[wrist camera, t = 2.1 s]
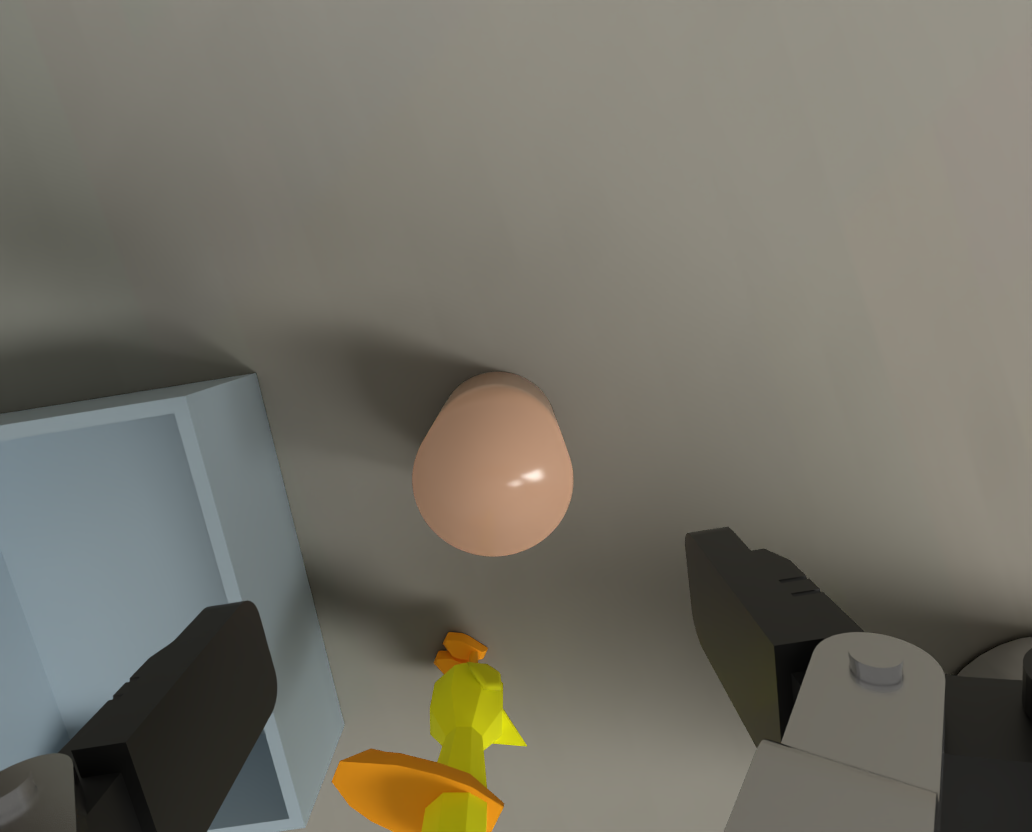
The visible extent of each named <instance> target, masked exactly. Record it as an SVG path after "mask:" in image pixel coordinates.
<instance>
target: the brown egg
mask: <svg viewBox="0 0 1032 832" xmlns="http://www.w3.org/2000/svg"><path fill="white" fill-rule="evenodd" d="M412 485H413V492H414V497H415V500H416V504H417V506H418V508H419V511H420V513H421V515H422V516H423V518H424V520H425V521H426V523H427V524H428V525H429V527H430V528H431V529H432V530H433V531H434V532H435V533H436V534H437V535H438V536H439V537H440V538H442V539H443V540H444V541H446V542H447V543H449V544H450V545H452V546H454V547H455V548H458V549H460V550H462V551H465V552H468V553H471V554H475V555H481V556H506V555H511V554H516V553H519V552H521V551H524V550H527V549H529V548H531V547H533V546H535V545H536V544H538V543H539V542H541V541H542V540H544V539H545V538H546V537H547V536H548V535H549V534H551V533H552V531H553V530H554V529H555V528H556V527H557V526H558V524H559V523H560V521H561V520H562V518H563V517H564V515H565V513H566V511H567V509H568V506H569V503H570V500H571V496H572V491H573V469H572V464H571V459H570V457H569V454H568V451H567V448H566V445H565V442H564V439H563V437H562V434H561V431H560V428H559V425H558V422H557V419H556V417H555V414H554V411H553V408H552V406H551V404H550V402H549V400H548V399H547V397H546V396H545V394H544V393H543V392H542V391H541V390H540V389H539V388H538V387H537V386H536V385H535V384H533V383H532V382H531V381H529V380H527V379H526V378H523V377H521V376H519V375H516V374H513V373H508V372H487V373H483V374H479V375H476V376H474V377H472V378H470V379H468V380H466V381H465V382H463V383H462V384H460V385H459V386H458V387H457V388H456V389H455V390H454V391H453V392H452V393H451V395H450V396H449V398H448V399H447V401H446V402H445V404H444V406H443V408H442V409H441V411H440V413H439V414H438V416H437V418H436V420H435V421H434V423H433V425H432V426H431V428H430V430H429V431H428V433H427V435H426V437H425V438H424V440H423V442H422V443H421V445H420V448H419V450H418V452H417V455H416V458H415V462H414V466H413V473H412Z"/></svg>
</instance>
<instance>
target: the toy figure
mask: <svg viewBox="0 0 1032 832" xmlns="http://www.w3.org/2000/svg"><path fill="white" fill-rule="evenodd" d="M443 645H444V646H445V647H446V649H447V650H448V651H439V652H438V653H437V655H436V658H435V661H434V664H435V665H436V666H437V667H438V668H439V669H440V671H441V672H442V673H443V674H444V675H443V676H442V677H441V678H440V679H439V680H438V681H436V682H435V685H434V690H433V695H432V700H431V705H430V734H431V735H432V736H433V737H434V738H435V739H436V740H437V741H438V742H439V743H440V744H441V745H442V749H441V752H440V755H439V758H438V761H437V762H433V761H429V760H425V759H421V758H417V757H413V756H409V755H405V754H401V753H393V752H384V751H380V750H375V749H369V750H366V751H364V752H361V753H359V754H356V755H354V756H351V757H349V758H346V759H344V760H341V761H340V762H339V764H338V767H337V769H336V772H335V774H334V777H333V780H332V783H333V784H334V785H335V787H336V788H337V789H338V791H339V792H340V793H341V795H342V796H343V797H344V799H345V800H346V802H347V803H348V804H349V806H351V807H352V808H353V809H355V810H356V811H358V812H359V813H360V814H362V815H363V816H365V817H366V818H367V819H369V820H370V821H372V822H374V823H376V824H378V825H380V826H382V827H385V828H387V829H389V830H391V831H393V832H491V831H492V829H493V827H494V825H495V823H496V821H497V819H498V817H499V815H500V813H501V811H502V809H503V807H504V803H503V802H502V801H501V800H500V799H499V798H497V797H496V796H495V795H494V794H493V793H492V792H490V791H489V790H488V789H487V784H486V772H485V761H484V750H485V749H486V748H487V747H488V746H490V745H491V744H505V745H517V746H527V745H526V744H525V742H524V740H523V739H522V737H521V736H520V734H519V733H518V731H517V729H516V728H515V726H514V725H513V723H512V722H511V720H510V718H509V717H508V715H507V714H506V712H505V711H504V709H503V683H502V682H501V674H500V673H499V672H498V671H497V670H495V669H494V668H492V667H491V666H489V665H488V664H481V663H478V660H480V659H483V658H484V656H485V654H486V652H487V649H488V648H487V647H486V646H484V645H483V644H481V643H480V642H478V641H476V640H475V639H473V638H472V637H470V636H468V635H466V634H463V633H456V632H448V634H447V636H446V638H445V640H444V642H443Z"/></svg>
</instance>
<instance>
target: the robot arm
mask: <svg viewBox="0 0 1032 832" xmlns="http://www.w3.org/2000/svg"><path fill="white" fill-rule="evenodd" d="M685 550H686V559H687V568H688V578H689V587H690V597H691V606H692V614H693V620H694V625H695V629H696V632H697V635H698V638H699V641H700V644H701V646H702V648H703V650H704V652H705V654H706V656H707V657H708V659H709V661H710V663H711V665H712V667H713V668H714V670H715V672H716V674H717V676H718V678H719V679H720V681H721V683H722V685H723V687H724V689H725V690H726V692H727V694H728V696H729V698H730V700H731V701H732V703H733V705H734V707H735V709H736V711H737V712H738V714H739V716H740V718H741V720H742V722H743V723H744V725H745V727H746V729H747V731H748V733H749V734H750V736H751V738H752V740H753V742H754V744H755V745H756V747H757V750H756V752H755V754H754V757H753V759H752V762H751V764H750V767H749V769H748V772H747V774H746V777H745V779H744V782H743V784H742V787H741V789H740V792H739V794H738V797H737V800H736V802H735V805H734V807H733V810H732V812H731V815H730V817H729V820H728V822H727V825H726V827H725V830H724V832H1032V637H1027V638H1020V639H1017V640H1014V641H1011V642H1008V643H1005V644H1002V645H999V646H997V647H995V648H993V649H991V650H990V651H988V652H986V653H984V654H982V655H980V656H979V657H977V658H976V659H975V660H974V661H972V662H971V663H970V664H968V665H967V666H966V667H965V668H963V669H962V670H961V671H960V673H959V674H958V675H957V676H954V675H948V674H944V672H943V669H942V667H941V666H940V665H939V663H938V662H937V661H936V660H935V659H934V658H933V657H932V656H931V655H929V654H928V653H927V652H925V651H924V650H922V649H921V648H919V647H917V646H915V645H913V644H911V643H908V642H906V641H904V640H901V639H898V638H895V637H891V636H887V635H883V634H876V633H867V632H864V631H863V630H862V629H861V628H860V627H859V626H858V625H857V624H856V623H855V622H854V621H852V620H851V619H850V618H849V617H848V616H847V615H846V614H845V613H844V612H843V611H842V610H841V609H840V608H839V607H838V606H837V605H836V604H835V603H834V602H833V601H832V600H831V599H830V598H829V597H828V596H826V595H825V594H824V593H823V592H822V593H821V592H820V589H819V588H818V587H817V586H816V585H815V584H814V583H813V582H812V581H811V580H810V579H807V578H806V575H805V574H804V573H803V572H802V571H800V570H799V569H798V568H797V567H796V566H795V565H794V564H793V563H792V562H791V561H790V560H788V559H786V558H784V557H782V556H779V555H777V554H775V553H773V552H770V551H768V550H766V549H760V550H753V551H751V550H750V549H749V548H748V547H747V546H746V545H745V544H744V543H743V542H742V541H741V539H740V538H739V537H738V536H737V535H736V534H735V533H734V532H733V531H732V530H731V529H730V528H729V527H723V528H717V529H710V530H704V531H698V532H691V533H687V534H686V537H685ZM276 698H277V676H276V672H275V668H274V665H273V661H272V658H271V654H270V650H269V647H268V643H267V640H266V636H265V632H264V629H263V625H262V621H261V618H260V614H259V611H258V609H257V607H256V605H255V604H254V603H253V602H251V601H248V600H247V601H241V602H234V603H228V604H221V605H215V606H209V607H206V608H204V609H203V610H202V611H201V612H200V613H199V614H198V615H197V617H196V618H195V619H194V620H193V621H192V622H191V623H190V624H189V625H188V626H187V627H186V628H185V629H184V630H183V631H182V633H181V634H180V635H179V636H178V637H177V638H176V639H175V640H174V641H173V642H171V643H170V644H169V645H167V646H166V647H164V648H163V649H161V650H160V651H158V652H157V653H155V654H154V655H153V656H151V657H150V658H149V659H148V660H147V661H146V662H145V663H144V664H143V665H142V666H141V667H140V668H139V669H138V670H137V671H136V672H135V673H134V674H133V675H132V676H131V677H130V681H129V682H125V684H124V685H123V686H122V687H121V688H120V689H119V690H118V691H117V692H116V693H115V694H114V695H113V699H112V700H108V701H107V702H106V703H105V704H104V705H103V706H102V707H101V708H100V710H99V711H98V712H97V713H96V714H95V715H94V716H93V717H92V718H91V719H90V720H89V721H88V722H87V723H86V724H85V725H84V726H83V727H82V728H81V729H80V730H79V731H78V732H77V733H76V735H75V736H74V737H73V738H72V739H71V740H70V741H69V742H68V743H67V744H66V745H65V746H64V747H63V748H62V749H61V750H60V751H59V752H58V753H52V754H45V755H40V756H36V757H33V758H30V759H27V760H24V761H21V762H19V763H17V764H14V765H12V766H10V767H8V768H6V769H4V770H2V771H0V832H207V831H208V829H209V827H210V825H211V823H212V822H213V820H214V818H215V816H216V814H217V813H218V811H219V809H220V807H221V805H222V803H223V802H224V800H225V798H226V796H227V794H228V792H229V791H230V789H231V787H232V785H233V783H234V782H235V780H236V778H237V776H238V774H239V772H240V771H241V769H242V767H243V765H244V763H245V761H246V760H247V758H248V756H249V754H250V752H251V751H252V749H253V747H254V745H255V743H256V741H257V740H258V738H259V736H260V734H261V732H262V730H263V729H264V727H265V725H266V723H267V721H268V719H269V718H270V716H271V714H272V712H273V710H274V707H275V703H276Z"/></svg>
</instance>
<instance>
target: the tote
mask: <svg viewBox="0 0 1032 832" xmlns="http://www.w3.org/2000/svg"><path fill="white" fill-rule="evenodd" d="M247 600H248V601H251V602H253V603H254V604H255V605H256V607H257V609H258V611H259V614H260V618H261V621H262V625H263V629H264V632H265V636H266V640H267V643H268V647H269V650H270V654H271V658H272V661H273V665H274V668H275V672H276V676H277V698H276V703H275V707H274V710H273V712H272V714H271V716H270V718H269V719H268V721H267V723H266V725H265V727H264V729H263V730H262V732H261V734H260V736H259V738H258V740H257V741H256V743H255V745H254V747H253V749H252V751H251V752H250V754H249V756H248V758H247V760H246V761H245V763H244V765H243V767H242V769H241V771H240V772H239V774H238V776H237V778H236V780H235V782H234V783H233V785H232V787H231V789H230V791H229V792H228V794H227V796H226V798H225V800H224V802H223V803H222V805H221V807H220V809H219V811H218V813H217V814H216V816H215V818H214V820H213V822H212V823H211V825H210V827H209V829H208V831H207V832H278V831H285V830H293V829H300V828H305V827H306V824H307V822H308V819H309V817H310V814H311V811H312V809H313V806H314V804H315V801H316V798H317V796H318V793H319V791H320V788H321V785H322V783H323V780H324V777H325V775H326V772H327V770H328V767H329V764H330V762H331V759H332V757H333V754H334V751H335V749H336V746H337V744H338V741H339V738H340V736H341V733H342V730H343V728H344V721H343V717H342V713H341V709H340V705H339V701H338V697H337V693H336V689H335V685H334V681H333V677H332V673H331V669H330V665H329V661H328V657H327V653H326V649H325V646H324V642H323V638H322V634H321V630H320V626H319V622H318V618H317V614H316V610H315V606H314V602H313V598H312V594H311V590H310V586H309V582H308V578H307V574H306V570H305V566H304V562H303V558H302V554H301V550H300V546H299V542H298V538H297V534H296V530H295V526H294V522H293V518H292V514H291V510H290V506H289V502H288V498H287V494H286V490H285V486H284V482H283V478H282V474H281V470H280V466H279V462H278V458H277V454H276V450H275V446H274V442H273V438H272V434H271V430H270V426H269V422H268V418H267V414H266V410H265V406H264V402H263V398H262V395H261V391H260V387H259V383H258V379H257V375H256V373H252V374H246V375H240V376H233V377H227V378H221V379H215V380H208V381H202V382H196V383H190V384H183V385H177V386H171V387H165V388H159V389H152V390H146V391H140V392H134V393H127V394H121V395H115V396H109V397H102V398H96V399H90V400H84V401H78V402H71V403H65V404H59V405H53V406H46V407H40V408H34V409H28V410H21V411H15V412H9V413H3V414H0V771H2V770H4V769H6V768H8V767H10V766H12V765H14V764H17V763H19V762H21V761H24V760H27V759H30V758H33V757H36V756H40V755H45V754H52V753H58V752H59V751H60V750H61V749H62V748H63V747H64V746H65V745H66V744H67V743H68V742H69V741H70V740H71V739H72V738H73V737H74V736H75V735H76V733H77V732H78V731H79V730H80V729H81V728H82V727H83V726H84V725H85V724H86V723H87V722H88V721H89V720H90V719H91V718H92V717H93V716H94V715H95V714H96V713H97V712H98V711H99V710H100V708H101V707H102V706H103V705H104V704H105V703H106V702H107V701H108V700H112V699H113V695H114V694H115V693H116V692H117V691H118V690H119V689H120V688H121V687H122V686H123V685H124V684H125V682H129V681H130V677H131V676H132V675H133V674H134V673H135V672H136V671H137V670H138V669H139V668H140V667H141V666H142V665H143V664H144V663H145V662H146V661H147V660H148V659H149V658H150V657H151V656H153V655H154V654H155V653H157V652H158V651H160V650H161V649H163V648H164V647H166V646H167V645H169V644H170V643H171V642H173V641H174V640H175V639H176V638H177V637H178V636H179V635H180V634H181V633H182V631H183V630H184V629H185V628H186V627H187V626H188V625H189V624H190V623H191V622H192V621H193V620H194V619H195V618H196V617H197V615H198V614H199V613H200V612H201V611H202V610H203V609H204V608H206V607H209V606H215V605H221V604H228V603H234V602H241V601H247Z"/></svg>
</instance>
